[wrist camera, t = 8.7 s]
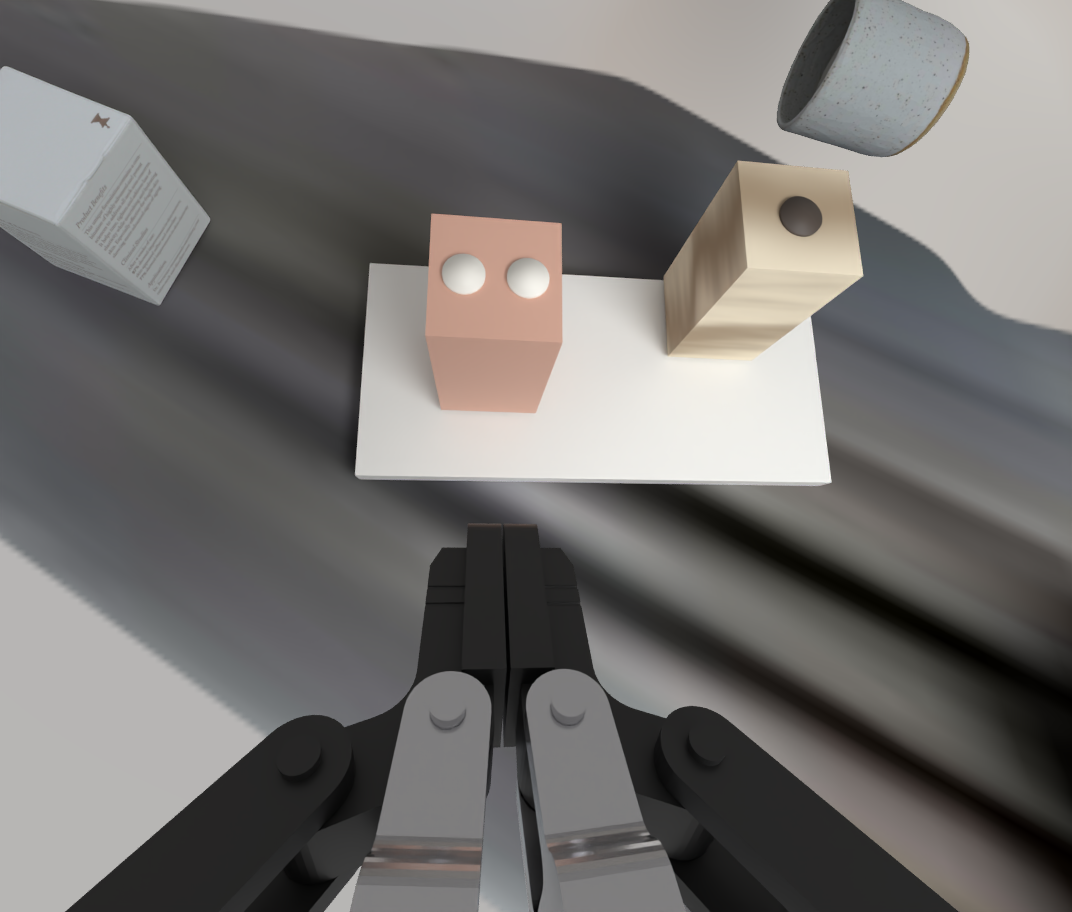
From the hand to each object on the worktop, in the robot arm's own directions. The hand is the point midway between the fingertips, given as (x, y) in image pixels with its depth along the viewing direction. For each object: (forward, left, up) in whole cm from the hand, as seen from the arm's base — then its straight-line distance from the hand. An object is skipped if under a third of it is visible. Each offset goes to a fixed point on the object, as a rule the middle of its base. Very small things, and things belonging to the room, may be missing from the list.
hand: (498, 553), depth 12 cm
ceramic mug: (-35, -17, -17) cm, 42 cm away
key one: (-17, -7, -15) cm, 24 cm away
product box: (+10, -25, -17) cm, 31 cm away
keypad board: (-10, -6, -16) cm, 20 cm away
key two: (-5, -9, -15) cm, 18 cm away
